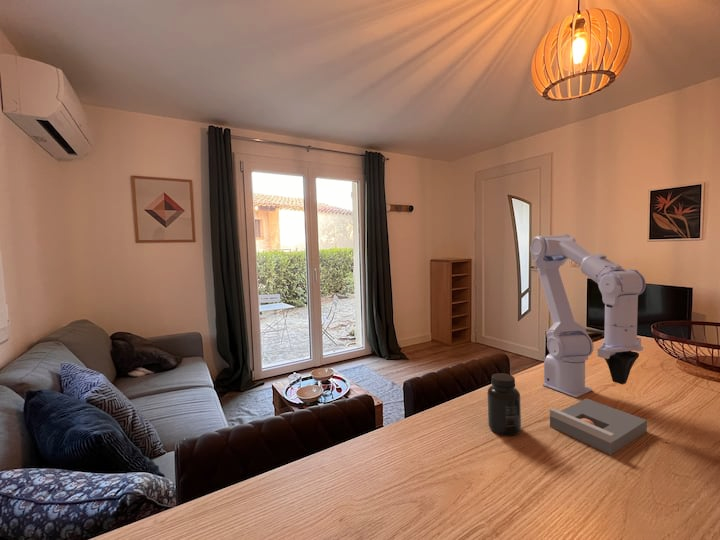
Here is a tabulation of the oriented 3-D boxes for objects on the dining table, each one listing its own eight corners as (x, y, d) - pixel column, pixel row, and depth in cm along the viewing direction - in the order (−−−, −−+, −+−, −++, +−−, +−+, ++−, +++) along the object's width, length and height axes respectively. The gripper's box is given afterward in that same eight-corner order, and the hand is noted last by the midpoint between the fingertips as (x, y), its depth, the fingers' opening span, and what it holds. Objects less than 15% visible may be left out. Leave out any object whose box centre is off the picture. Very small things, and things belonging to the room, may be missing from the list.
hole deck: (549, 426, 74) (549, 409, 74) (586, 408, 81) (586, 392, 81) (610, 455, 64) (610, 435, 63) (646, 431, 71) (647, 413, 70)
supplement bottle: (520, 423, 76) (520, 373, 75) (521, 439, 70) (521, 385, 69) (488, 418, 79) (488, 369, 78) (487, 433, 73) (486, 381, 72)
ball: (570, 424, 71) (579, 412, 72) (576, 435, 72) (585, 423, 73) (587, 431, 68) (595, 419, 69) (593, 443, 68) (602, 430, 70)
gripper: (624, 333, 67) (623, 397, 68) (658, 322, 73) (656, 381, 74) (587, 326, 73) (586, 385, 74) (621, 316, 80) (620, 370, 81)
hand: (619, 382), depth 75 cm, fingers closed
